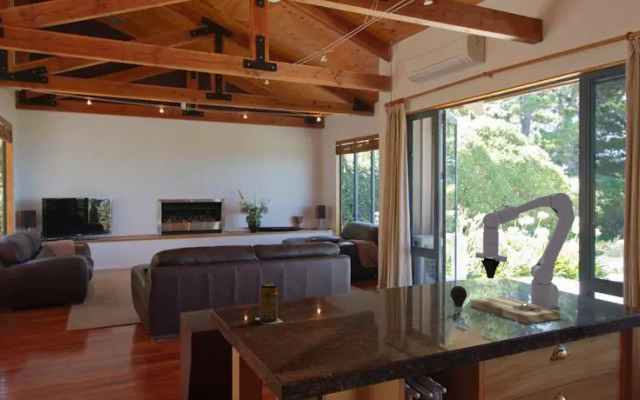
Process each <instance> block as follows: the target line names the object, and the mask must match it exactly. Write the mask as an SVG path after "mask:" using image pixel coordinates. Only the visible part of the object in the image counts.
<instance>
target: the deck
mask: <svg viewBox="0 0 640 400" xmlns="http://www.w3.org/2000/svg"><path fill="white" fill-rule="evenodd" d="M530 303H531V302H530ZM530 303H529V302H526V301H522V300H518V299H514V298H509V297H506V296H493V297H485V298H476V299H475V298H474V299H470V307H472V308H475V309H478V310H481V311H485V312H488V313H490V314H494V315H497V316H501V317H504V318H508V319H511V320H514V321H518V322H521V323H524V324H527V325H528V324H533V323H539V322H545V321H553V320H560V319H561V310H557V309H554V308H545V307H542V306H538V305H534V304H530ZM522 304H526V305H528V306H529V307H530V308H531V311H525V310H520V309H519V307H520V305H522ZM559 318H560V319H559Z"/></svg>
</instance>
